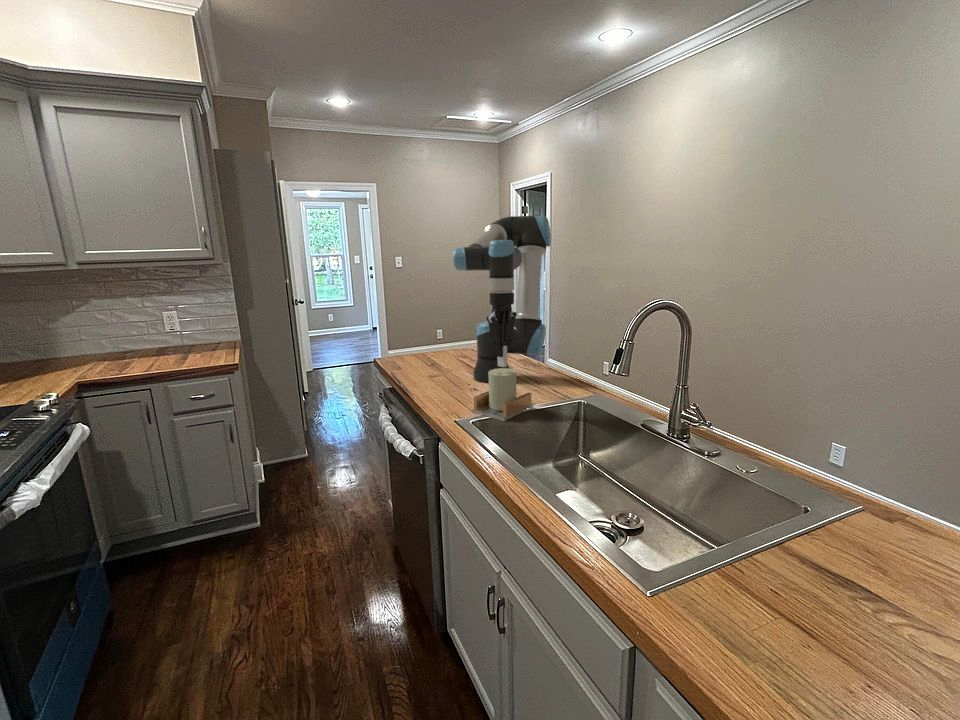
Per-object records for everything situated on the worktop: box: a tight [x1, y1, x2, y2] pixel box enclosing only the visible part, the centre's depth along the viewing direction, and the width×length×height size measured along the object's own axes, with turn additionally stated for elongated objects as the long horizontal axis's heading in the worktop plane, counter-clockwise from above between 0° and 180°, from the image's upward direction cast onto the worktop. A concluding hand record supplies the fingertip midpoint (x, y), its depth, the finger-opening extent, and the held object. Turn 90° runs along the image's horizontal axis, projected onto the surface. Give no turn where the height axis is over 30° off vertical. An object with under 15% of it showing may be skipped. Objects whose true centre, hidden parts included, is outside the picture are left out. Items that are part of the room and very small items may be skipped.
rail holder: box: [471, 390, 534, 422], centre depth 155 cm, size 16×13×5 cm
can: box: [488, 368, 518, 411], centre depth 154 cm, size 9×9×12 cm
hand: (502, 366), depth 152 cm, fingers closed
